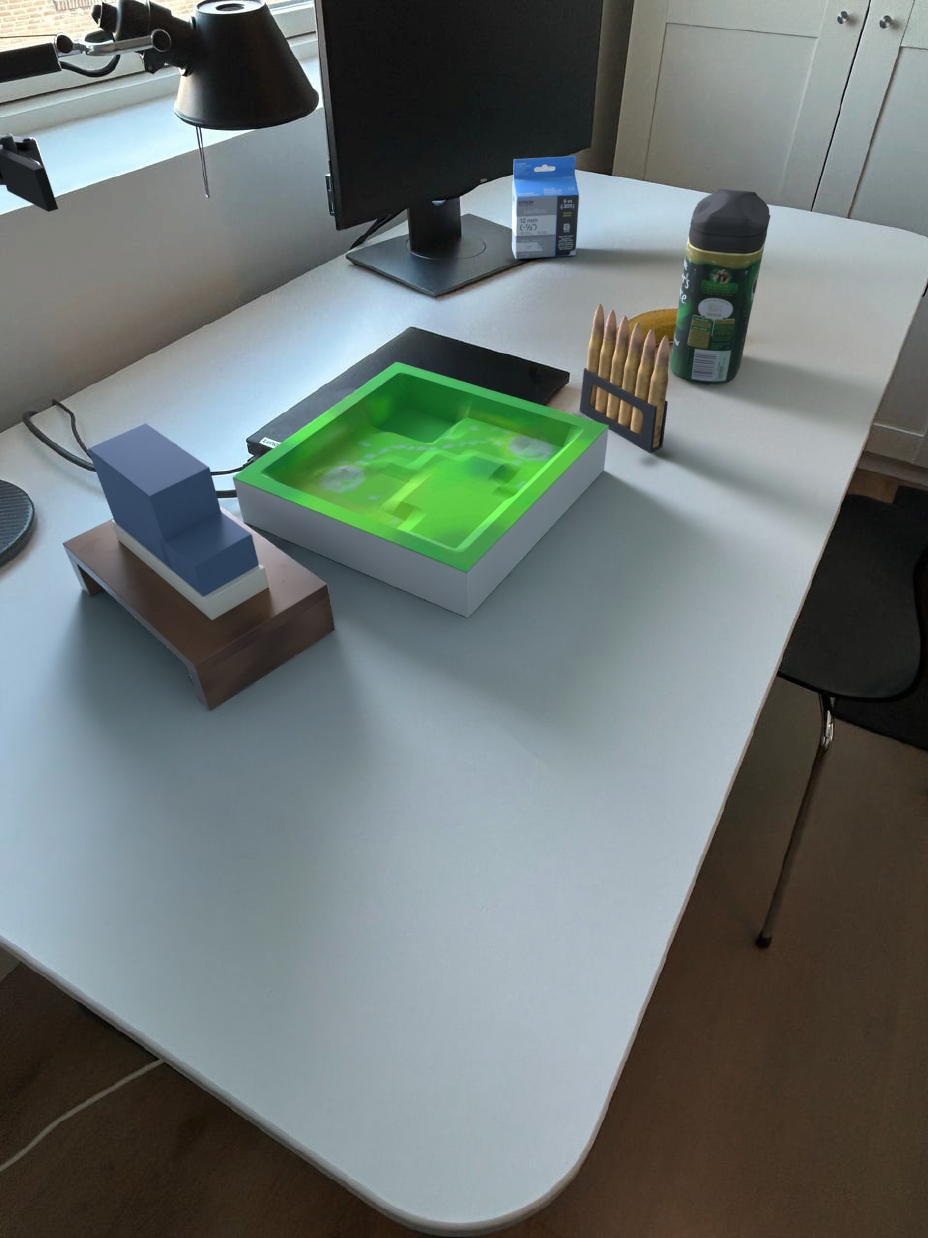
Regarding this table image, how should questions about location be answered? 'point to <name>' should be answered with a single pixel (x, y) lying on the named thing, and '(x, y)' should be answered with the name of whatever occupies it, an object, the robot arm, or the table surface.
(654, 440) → the ammunition clip
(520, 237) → the label tape box
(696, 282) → the coffee jar
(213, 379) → the table surface
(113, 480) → the block
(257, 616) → the shelf
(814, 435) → the table surface
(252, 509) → the tray
